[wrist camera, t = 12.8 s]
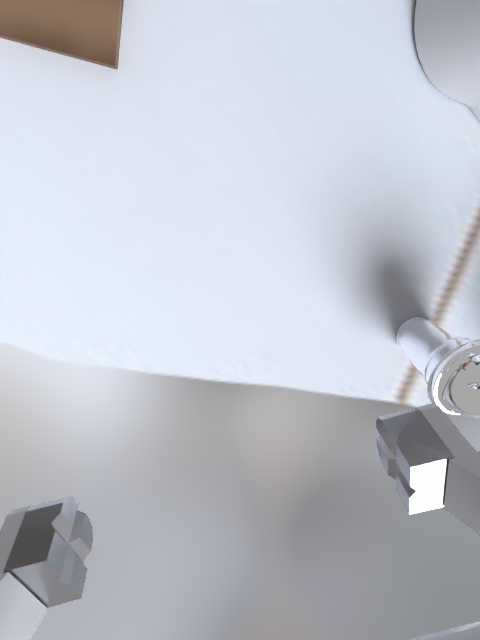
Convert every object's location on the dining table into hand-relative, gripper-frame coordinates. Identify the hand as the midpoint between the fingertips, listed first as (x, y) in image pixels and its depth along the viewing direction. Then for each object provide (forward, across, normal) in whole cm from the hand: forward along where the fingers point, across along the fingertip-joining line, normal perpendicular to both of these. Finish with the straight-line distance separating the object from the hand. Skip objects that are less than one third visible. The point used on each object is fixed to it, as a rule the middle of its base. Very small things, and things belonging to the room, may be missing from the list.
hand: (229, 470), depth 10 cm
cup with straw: (+30, -22, +22) cm, 43 cm away
